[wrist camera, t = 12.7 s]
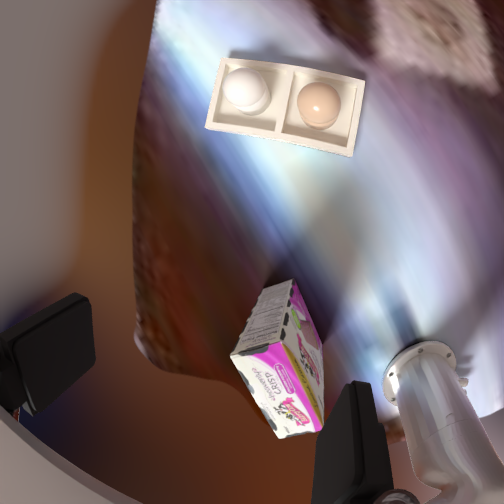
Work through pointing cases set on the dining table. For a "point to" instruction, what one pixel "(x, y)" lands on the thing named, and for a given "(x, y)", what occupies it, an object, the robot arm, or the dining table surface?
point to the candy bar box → (283, 361)
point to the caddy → (288, 107)
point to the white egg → (247, 91)
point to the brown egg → (318, 105)
